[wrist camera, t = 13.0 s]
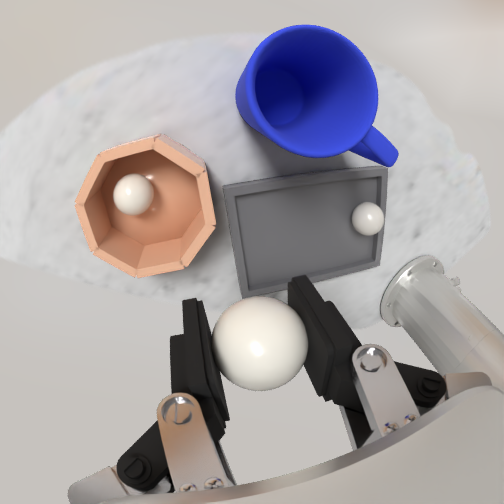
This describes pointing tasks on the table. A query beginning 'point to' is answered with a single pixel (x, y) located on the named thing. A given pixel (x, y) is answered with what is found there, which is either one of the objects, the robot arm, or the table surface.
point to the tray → (302, 226)
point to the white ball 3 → (367, 218)
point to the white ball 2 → (259, 343)
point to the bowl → (156, 216)
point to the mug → (313, 95)
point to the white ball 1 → (133, 194)
